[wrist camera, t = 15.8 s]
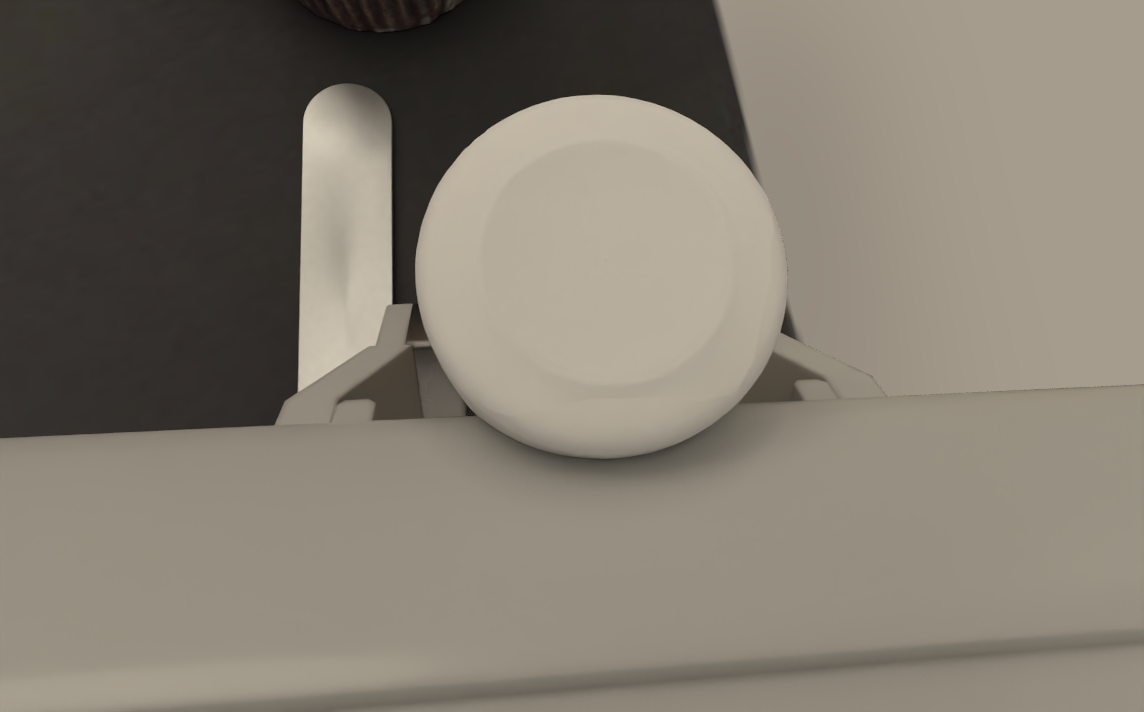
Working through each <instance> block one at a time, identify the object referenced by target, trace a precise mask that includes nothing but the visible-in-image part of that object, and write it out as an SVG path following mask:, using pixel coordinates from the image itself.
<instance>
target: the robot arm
mask: <svg viewBox="0 0 1144 712" xmlns="http://www.w3.org/2000/svg"><path fill="white" fill-rule="evenodd" d="M466 411H467V404H466V403H465V402H464V400H463V399H462V398H461V396H460V395H459V394H458V392H457V391H456V389H455V388H454V386H453V385H452V383H451V382H450V380H449V379H448V377H447V375H446V374H445V372H444V370H443V369H442V367H441V365H440V363H439V361H438V359H437V357H436V355H435V353H434V351H433V348H432V346H431V344H430V342H429V339H428V337H427V334H426V331H425V329H424V326H423V322H422V318H421V314H420V310H419V305H418V304H414V305H413V304H395V305H388V306H387V307H386V309H385V313H384V316H383V320H382V324H381V328H380V331H379V335H378V339H377V343H376V346H368V347H367V348H365V349H364V350H362V351H361V352H359V353H358V354H356V355H355V356H353V357H352V358H350V359H349V360H347V361H345V362H344V363H342V364H341V365H339V366H338V367H336V368H335V369H333V370H332V371H330V372H329V373H327V374H326V375H324V376H323V377H321V378H320V379H318V380H316V381H315V382H313V383H312V384H310V385H309V386H307V387H306V388H304V389H303V390H301V391H300V392H298V393H297V394H295V395H294V396H292V397H290V398H289V399H287V400H286V401H285V402H284V404H283V407H282V409H281V411H280V414H279V416H278V418H277V421H276V423H275V425H273V426H252V427H231V428H210V429H189V430H168V431H146V432H125V433H104V434H83V435H61V436H40V437H19V438H0V712H1144V384H1141V385H1123V386H1101V387H1079V388H1057V389H1035V390H1017V391H1015V390H1014V391H995V392H994V391H993V392H972V393H953V394H952V393H951V394H931V395H910V396H887V395H886V394H885V392H884V391H883V390H882V389H881V387H880V386H879V385H878V384H877V382H876V381H875V380H874V378H873V377H872V376H871V375H869V374H867V373H864V372H862V371H860V370H858V369H856V368H854V367H852V366H850V365H847V364H845V363H843V362H841V361H839V360H836V359H835V358H833V357H831V356H828V355H826V354H824V353H822V352H820V351H818V350H815V349H814V348H811V347H809V346H807V345H805V344H803V343H801V342H799V341H797V340H795V339H792V338H790V337H788V336H786V335H784V334H782V333H780V335H779V337H778V340H777V342H776V345H775V348H774V350H773V352H772V354H771V356H770V358H769V360H768V362H767V364H766V366H765V368H764V370H763V371H762V373H761V374H760V376H759V377H758V379H757V380H756V381H755V383H754V384H753V386H752V387H751V388H750V389H749V391H748V392H747V393H746V394H745V396H744V397H743V398H742V399H741V401H740V402H739V403H738V404H736V405H735V406H734V407H733V408H732V409H731V410H730V411H729V412H728V413H726V414H725V415H724V416H722V417H721V418H720V419H719V420H717V421H716V422H715V423H714V424H712V425H710V426H709V427H707V428H706V429H704V430H702V431H701V432H699V433H697V434H696V435H694V436H692V437H690V438H688V439H686V440H684V441H682V442H680V443H678V444H675V445H673V446H670V447H667V448H664V449H662V450H659V451H656V452H653V453H648V454H643V455H638V456H633V457H627V458H616V459H591V458H577V457H570V456H562V455H558V454H554V453H550V452H547V451H543V450H539V449H536V448H533V447H530V446H528V445H525V444H523V443H520V442H518V441H516V440H514V439H513V438H511V437H509V436H507V435H505V434H503V433H501V432H500V431H498V430H496V429H495V428H494V427H492V426H491V425H489V424H488V423H487V422H485V421H484V420H482V419H481V418H480V417H478V416H466Z"/></svg>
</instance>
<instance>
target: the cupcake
mask: <svg viewBox="0 0 1144 712" xmlns="http://www.w3.org/2000/svg"><path fill="white" fill-rule="evenodd" d="M298 1H299V2H300V3H301V4H302V5H303V6H304V7H305V8H307V9H308V10H310V11H311V12H312V13H314V14H315V15H317V16H318V17H321V18H324V19H326V20H329V21H332V22H334V23H337V24H339V25H342V26H344V27H346V28H348V29H351V30H358V31H374V32H379V33H380V32H392V31H403V30H406V29H410V28H413V27H417V26H421V25H426V24H430V23H431V22H433V21H434V20H435V19H436V18H437V17H438V16H440V15H442V14H444V13H446V12H448V11H450V10H452V9H453V8H455V7H456V6H458V5H459V4H460V3H461V2H462V1H463V0H298Z"/></svg>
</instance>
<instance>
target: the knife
mask: <svg viewBox="0 0 1144 712" xmlns="http://www.w3.org/2000/svg"><path fill="white" fill-rule="evenodd" d="M388 305H394V187H393V120H392V115H391V112H390V110H389V107H388V105H387V104H386V102H385V101H384V99H383V98H382V97H381V96H380V95H379V94H377V93H376V92H375V91H373V90H372V89H370V88H368V87H365V86H362V85H359V84H353V83H343V84H337V85H333V86H330V87H328V88H326V89H324V90H322V91H321V92H319V93H318V94H317V95H316V96H315V97H314V98H313V99H312V100H311V101H310V103H309V104H308V106H307V108H306V111H305V114H304V118H303V148H302V196H301V245H300V294H299V343H298V392H300V391H301V390H303V389H304V388H306V387H307V386H309V385H310V384H312V383H313V382H315V381H316V380H318V379H320V378H321V377H323V376H324V375H326V374H327V373H329V372H330V371H332V370H333V369H335V368H336V367H338V366H339V365H341V364H342V363H344V362H345V361H347V360H349V359H350V358H352V357H353V356H355V355H356V354H358V353H359V352H361V351H362V350H364V349H365V348H367V347H368V346H376V343H377V339H378V335H379V331H380V328H381V324H382V320H383V316H384V313H385V309H386V307H387V306H388ZM298 392H297V393H298Z"/></svg>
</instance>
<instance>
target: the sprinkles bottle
mask: <svg viewBox="0 0 1144 712" xmlns="http://www.w3.org/2000/svg"><path fill="white" fill-rule="evenodd" d="M786 261H787V258H786V252H785V247H784V241H783V238H782V235H781V231H780V228H779V224H778V221H777V218H776V216H775V214H774V211H773V209H772V207H771V204H770V202H769V200H768V197H767V196H766V194H765V192H764V190H763V189H762V187H761V186H760V184H759V183H758V182H757V180H756V179H755V177H754V176H753V174H752V173H751V171H750V170H749V168H748V167H747V166H746V165H745V164H744V162H743V161H742V160H741V159H740V158H739V157H738V156H737V155H736V154H735V153H734V152H733V151H732V150H731V149H730V148H729V147H728V146H727V145H726V144H725V143H724V142H723V141H721V140H720V139H719V138H718V137H716V136H715V135H714V134H712V133H711V132H710V131H708V130H707V129H706V128H704V127H703V126H701V125H699V124H698V123H696V122H694V121H692V120H691V119H689V118H687V117H685V116H683V115H681V114H679V113H677V112H675V111H673V110H670V109H667V108H665V107H662V106H659V105H657V104H654V103H650V102H646V101H642V100H638V99H634V98H628V97H623V96H613V95H584V96H572V97H565V98H559V99H555V100H551V101H547V102H544V103H541V104H537V105H534V106H531V107H529V108H526V109H524V110H522V111H519V112H517V113H515V114H513V115H511V116H509V117H507V118H505V119H504V120H502V121H500V122H499V123H497V124H495V125H494V126H492V127H491V128H489V129H488V130H487V131H486V132H485V133H484V134H482V135H481V136H479V137H478V138H476V139H475V140H474V141H473V142H472V143H471V144H470V146H468V147H467V148H466V149H464V150H463V152H462V153H461V154H460V155H459V157H458V158H457V159H456V160H455V162H454V163H453V164H452V165H451V167H450V168H449V169H448V170H447V172H446V173H445V175H444V176H443V178H442V179H441V181H440V183H439V184H438V186H437V187H436V189H435V192H434V194H433V196H432V198H431V200H430V203H429V205H428V208H427V211H426V214H425V216H424V219H423V222H422V226H421V229H420V235H419V240H418V245H417V249H416V260H415V278H416V292H417V299H418V305H419V310H420V314H421V318H422V322H423V326H424V329H425V331H426V334H427V337H428V339H429V342H430V344H431V346H432V348H433V351H434V353H435V355H436V357H437V359H438V361H439V363H440V365H441V367H442V369H443V370H444V372H445V374H446V375H447V377H448V379H449V380H450V382H451V383H452V385H453V386H454V388H455V389H456V391H457V392H458V394H459V395H460V396H461V398H462V399H463V400H464V402H465V403H466V404H467V405H468V406H469V408H470V409H471V410H472V411H473V412H474V413H475V414H476V415H477V416H478V417H480V418H481V419H482V420H484V421H485V422H487V423H488V424H489V425H491V426H492V427H494V428H495V429H496V430H498V431H500V432H501V433H503V434H505V435H507V436H509V437H511V438H513V439H514V440H516V441H518V442H520V443H523V444H525V445H528V446H530V447H533V448H536V449H539V450H543V451H547V452H550V453H554V454H558V455H562V456H570V457H577V458H591V459H616V458H627V457H633V456H638V455H643V454H648V453H653V452H656V451H659V450H662V449H664V448H667V447H670V446H673V445H675V444H678V443H680V442H682V441H684V440H686V439H688V438H690V437H692V436H694V435H696V434H697V433H699V432H701V431H702V430H704V429H706V428H707V427H709V426H710V425H712V424H714V423H715V422H716V421H717V420H719V419H720V418H721V417H722V416H724V415H725V414H726V413H728V412H729V411H730V410H731V409H732V408H733V407H734V406H735V405H736V404H738V403H739V402H740V401H741V399H742V398H743V397H744V396H745V394H746V393H747V392H748V391H749V389H750V388H751V387H752V386H753V384H754V383H755V381H756V380H757V379H758V377H759V376H760V374H761V373H762V371H763V370H764V368H765V366H766V364H767V362H768V360H769V358H770V356H771V354H772V352H773V350H774V348H775V345H776V342H777V340H778V337H779V335H780V331H781V327H782V323H783V319H784V314H785V308H786V301H787V289H788V267H787V262H786Z"/></svg>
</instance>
